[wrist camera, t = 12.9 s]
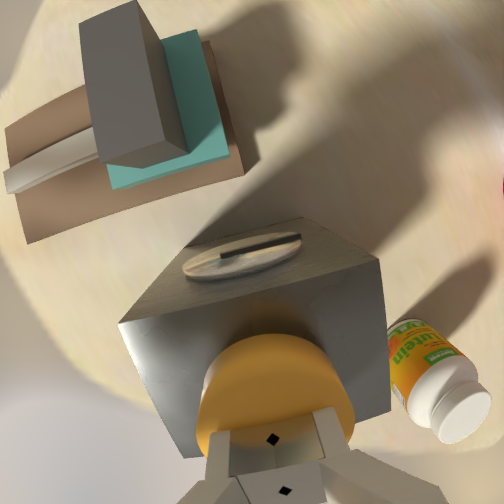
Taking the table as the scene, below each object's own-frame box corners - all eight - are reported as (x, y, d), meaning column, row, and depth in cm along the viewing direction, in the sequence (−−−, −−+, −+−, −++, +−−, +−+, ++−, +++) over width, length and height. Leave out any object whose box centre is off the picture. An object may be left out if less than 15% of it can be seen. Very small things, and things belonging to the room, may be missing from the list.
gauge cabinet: (180, 239, 21) (110, 306, 9) (301, 208, 21) (375, 239, 9) (209, 330, 22) (183, 458, 10) (321, 302, 22) (391, 410, 10)
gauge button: (184, 351, 9) (171, 392, 7) (325, 317, 9) (347, 352, 7) (225, 446, 9) (223, 490, 8) (342, 420, 9) (358, 461, 7)
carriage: (112, 84, 17) (41, 34, 8) (203, 53, 17) (180, -24, 8) (134, 188, 18) (61, 193, 10) (231, 159, 18) (223, 139, 10)
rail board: (16, 130, 19) (-8, 126, 16) (211, 49, 18) (206, 30, 15) (38, 240, 20) (15, 248, 17) (244, 175, 20) (244, 173, 17)
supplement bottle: (419, 304, 22) (496, 362, 13) (438, 350, 23) (503, 413, 14) (363, 344, 23) (419, 424, 13) (387, 387, 24) (437, 464, 14)
